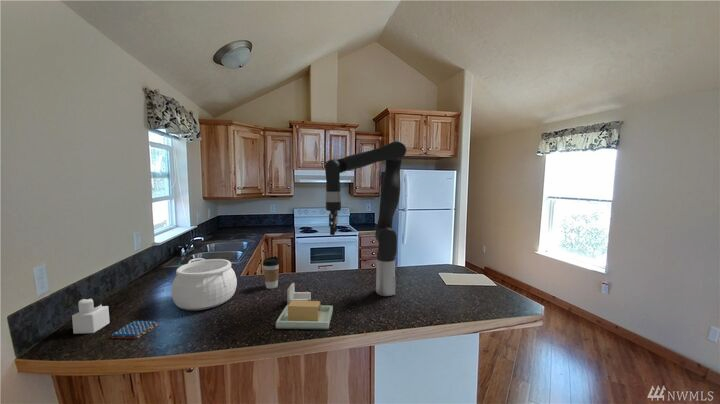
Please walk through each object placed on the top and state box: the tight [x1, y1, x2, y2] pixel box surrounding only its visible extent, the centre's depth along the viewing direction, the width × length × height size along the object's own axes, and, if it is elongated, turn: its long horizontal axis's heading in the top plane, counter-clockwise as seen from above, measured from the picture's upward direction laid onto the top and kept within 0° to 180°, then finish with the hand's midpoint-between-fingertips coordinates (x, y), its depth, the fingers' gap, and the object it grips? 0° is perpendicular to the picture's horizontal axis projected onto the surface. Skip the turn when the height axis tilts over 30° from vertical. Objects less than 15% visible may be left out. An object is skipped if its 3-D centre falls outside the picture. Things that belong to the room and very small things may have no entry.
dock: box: [286, 282, 312, 305], centre depth 122 cm, size 9×8×8 cm
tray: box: [275, 304, 334, 330], centre depth 108 cm, size 20×14×2 cm
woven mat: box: [110, 320, 159, 340], centre depth 100 cm, size 10×11×2 cm
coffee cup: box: [262, 256, 280, 290], centre depth 142 cm, size 8×8×15 cm
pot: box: [170, 257, 238, 311], centre depth 125 cm, size 29×26×17 cm
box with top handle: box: [287, 300, 323, 321], centre depth 108 cm, size 13×5×6 cm, turn 87°
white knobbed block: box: [71, 295, 110, 335], centre depth 101 cm, size 7×7×12 cm
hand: (333, 233), depth 133 cm, fingers open, 8 cm apart
